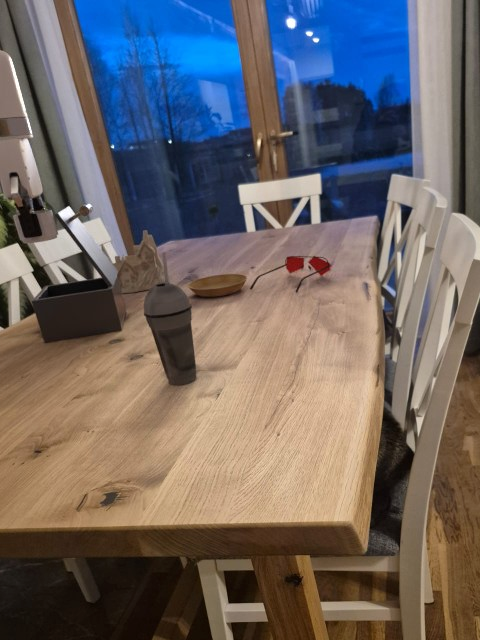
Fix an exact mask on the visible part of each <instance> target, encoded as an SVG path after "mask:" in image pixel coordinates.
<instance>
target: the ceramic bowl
mask: <svg viewBox="0 0 480 640" xmlns="http://www.w3.org/2000/svg"><path fill="white" fill-rule="evenodd" d="M35 213H37V217H38V220H39V224H40V227H41V230H42V236H39V237H31V238H25V237H24V235H23V232H22V229H21V225H20V222H19V219H18V215H17V213H16V214H13V215H12V218H13V222H14V225H15V228H16V231H17V235H18V239H19V241H21V242H22V243H23V244H36V243H43V242H47V241H51V240H55V239H58V235H59V231H58V228H57V224H56V221H55V220H56V219H55V215H54V212H53V210H52V209H46V210H40V211H34V214H35Z"/></svg>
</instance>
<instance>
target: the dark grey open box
mask: <svg viewBox="0 0 480 640" xmlns="http://www.w3.org/2000/svg"><path fill="white" fill-rule="evenodd" d="M124 300H125V299H124V297H123V294H122V292H121V288H120V284H119V280H118V276H116V279H115V281H114V284H113V286H112V287H109V286H108V285H107V284H106V282H105V281H104V280H103V278H102V277H96V278H89V279H82V280H77V281H76V280H75V281H71V282H63V283H56V284H49V285H44V287H42V289H41V290H40V291H39V292H38V293H37V294H36V296H35V297H34V298H33V299H32V300H31V304H32V308H33V311H34V314H35V318H36V321H37V323H38V324H37V325H38V326H39V330H40V333H41V336H42V340H43V343H45V344H47V343H52V342H60V341H65V340H71V339H77V338H84V337H90V336H96V335H101V334H108V333H113V332H114V333H115V332H121V331H123V328H124V324H125V321H126V317H127V314H128V313H127V309H126V305H125V301H124Z"/></svg>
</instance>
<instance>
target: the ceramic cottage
mask: <svg viewBox="0 0 480 640" xmlns="http://www.w3.org/2000/svg"><path fill="white" fill-rule="evenodd" d="M148 233H149V232H148V230H143V231H142V240H141V242H140V244H136V245H135V244H134V245H132V250H133V253H134V254H130V255H125V254H122V257H121V256H120V255H119V254H118V255H115V256H114V260H115V262H113V263H112V264H113V266H114V267H115V268H116V270H117V271H118V274H117V276H118V280H119V284H120V288H121V292H122V295H123V294H127V293H128V294H130V293H132V294H133V293H137V292H143V291H149V290H150V289H151V288H152V287H154V286H155V285H157V284H161V283H165V277H164V265H163V260H162V259H161V258H160V256H159V252H158V248H157V244H156V243H155V240H154V237H153V235H152V234H148ZM168 282H169V283H170V278H169V275H168Z"/></svg>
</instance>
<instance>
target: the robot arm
mask: <svg viewBox="0 0 480 640" xmlns="http://www.w3.org/2000/svg"><path fill="white" fill-rule="evenodd" d="M29 139H34V135H33V131H32V128H31V124H30V121H29V117H28V113H27V109H26V106H25V102H24V98H23V95H22V91H21V87H20V84H19V80H18V77H17V72H16V69H15V65H14V63H13V60H12V57H11V56H10V54H9V53H8V52H6V51H5V50H1V49H0V186H1V189H2V193H3V197H4V199H5V200H7V201H9V202H10V201H13V205H14V207H15V211H16V214H17V215H18V219H19V222H20V225H21V229H22V232H23V235H24V237H25V238H31V237H39V236H42V230H41V227H40V224H39V220H38V217H37V213H35V214H34V211H40V210H47V208H46V207H45V203H44V201H43V199H42V194H43V192H44V190H43V185H42V179H41V176H40V173H39V169H38V166H37V163H36V159H35V156H34V152H33V149H32V147H31V144H30V141H29Z"/></svg>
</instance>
